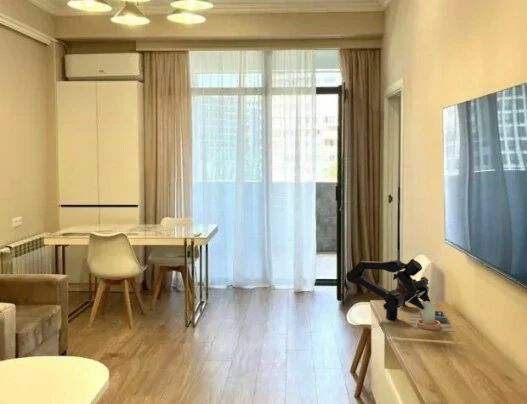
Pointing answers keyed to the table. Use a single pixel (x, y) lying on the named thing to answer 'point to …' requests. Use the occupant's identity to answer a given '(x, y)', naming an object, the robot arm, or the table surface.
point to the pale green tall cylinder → (428, 313)
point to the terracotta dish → (433, 327)
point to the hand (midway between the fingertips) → (427, 307)
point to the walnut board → (443, 327)
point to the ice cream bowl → (402, 292)
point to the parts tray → (438, 316)
